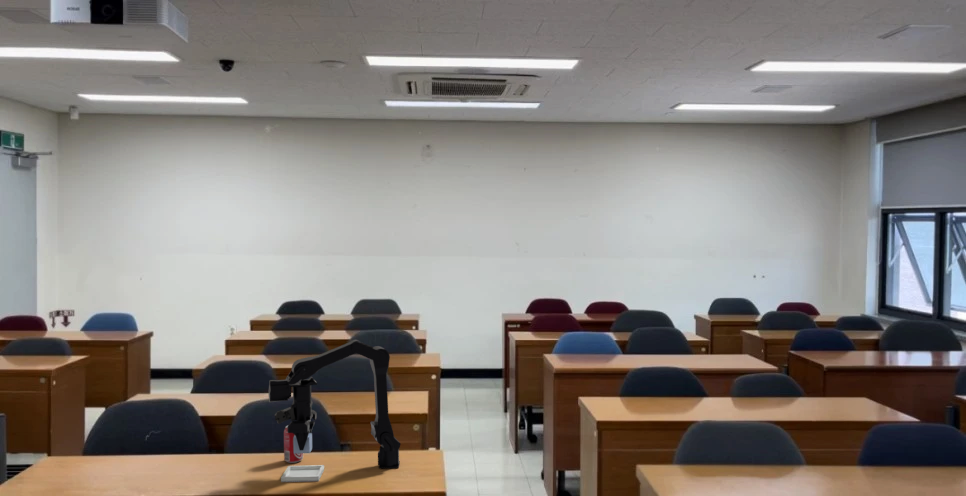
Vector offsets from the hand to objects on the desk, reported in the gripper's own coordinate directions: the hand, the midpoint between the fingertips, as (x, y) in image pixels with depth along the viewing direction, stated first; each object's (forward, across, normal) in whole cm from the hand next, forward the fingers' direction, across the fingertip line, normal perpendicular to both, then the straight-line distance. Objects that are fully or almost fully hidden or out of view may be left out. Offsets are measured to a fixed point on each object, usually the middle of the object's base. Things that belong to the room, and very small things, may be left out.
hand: (303, 447), depth 243 cm
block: (+1, 0, 0) cm, 1 cm away
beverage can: (+9, -16, -6) cm, 19 cm away
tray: (+9, 0, 0) cm, 9 cm away
